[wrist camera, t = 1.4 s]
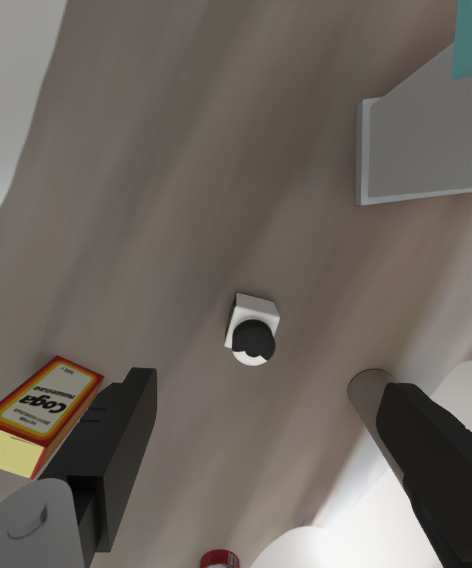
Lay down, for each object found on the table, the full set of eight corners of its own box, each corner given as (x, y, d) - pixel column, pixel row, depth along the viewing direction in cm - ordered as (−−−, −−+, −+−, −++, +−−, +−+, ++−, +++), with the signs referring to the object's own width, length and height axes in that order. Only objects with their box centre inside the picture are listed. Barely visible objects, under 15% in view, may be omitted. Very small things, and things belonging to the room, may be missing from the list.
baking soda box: (46, 380, 50) (-38, 456, 35) (57, 355, 48) (-27, 423, 33) (92, 400, 51) (30, 482, 36) (104, 376, 50) (44, 450, 34)
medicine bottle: (235, 291, 45) (235, 319, 33) (274, 301, 45) (287, 332, 34) (225, 327, 47) (222, 365, 35) (262, 336, 47) (271, 377, 36)
